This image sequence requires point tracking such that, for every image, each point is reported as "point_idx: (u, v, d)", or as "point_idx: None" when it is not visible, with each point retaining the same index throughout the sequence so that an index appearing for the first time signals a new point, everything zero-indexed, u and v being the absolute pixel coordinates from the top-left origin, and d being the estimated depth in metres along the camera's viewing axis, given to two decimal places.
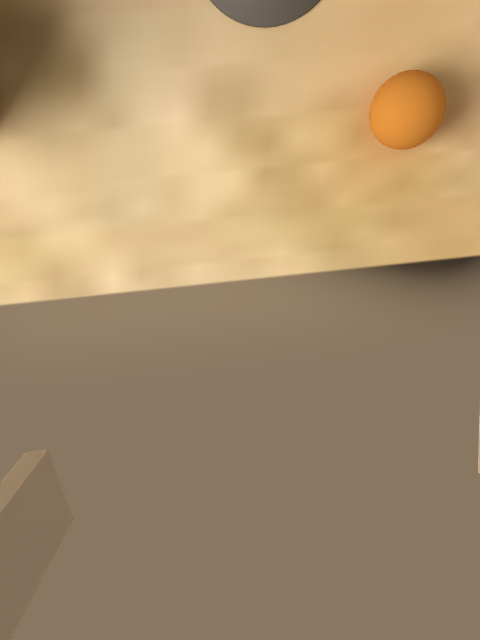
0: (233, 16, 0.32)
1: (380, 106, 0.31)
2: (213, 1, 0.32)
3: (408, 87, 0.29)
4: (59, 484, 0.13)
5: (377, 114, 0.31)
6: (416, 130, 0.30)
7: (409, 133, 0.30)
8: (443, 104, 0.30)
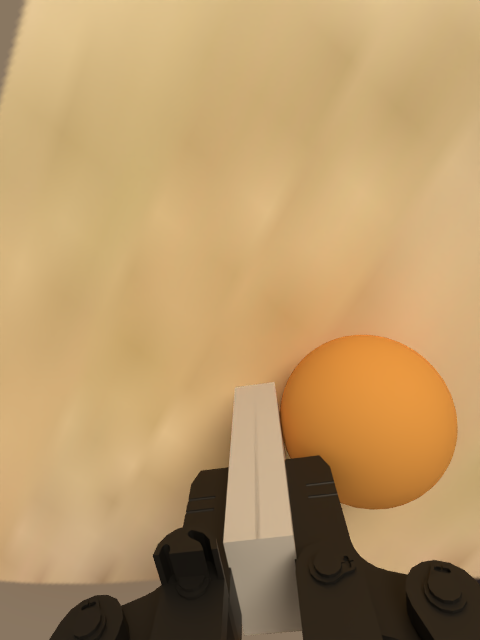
0: None
1: (431, 365, 0.13)
2: None
3: None
4: None
5: (417, 354, 0.13)
6: (391, 439, 0.11)
7: (390, 420, 0.11)
8: (386, 507, 0.12)
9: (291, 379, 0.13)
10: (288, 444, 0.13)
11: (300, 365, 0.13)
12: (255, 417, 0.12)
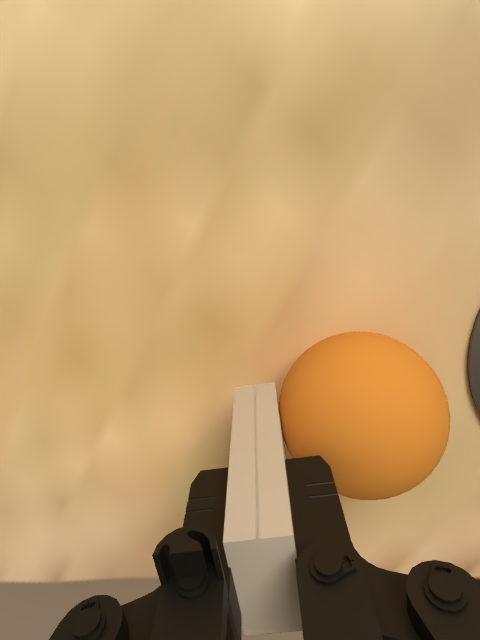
0: None
1: None
2: None
3: None
4: None
5: (404, 344, 0.14)
6: (414, 424, 0.11)
7: (410, 406, 0.11)
8: (402, 492, 0.12)
9: (294, 383, 0.13)
10: (303, 449, 0.12)
11: (301, 368, 0.13)
12: (255, 417, 0.12)
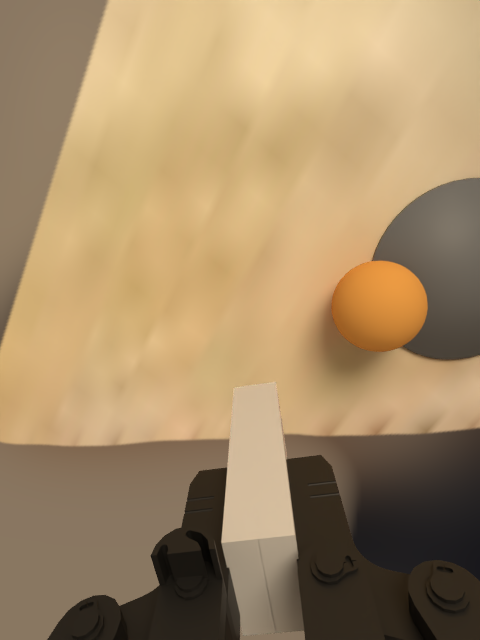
0: (425, 196, 0.25)
1: None
2: (455, 183, 0.25)
3: None
4: None
5: None
6: None
7: None
8: None
9: (405, 291, 0.22)
10: (422, 317, 0.23)
11: (398, 284, 0.22)
12: (257, 417, 0.12)
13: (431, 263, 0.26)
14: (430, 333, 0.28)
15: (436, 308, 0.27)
